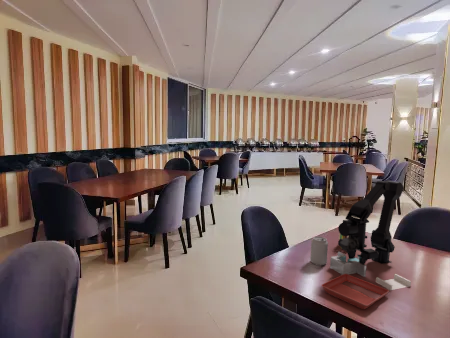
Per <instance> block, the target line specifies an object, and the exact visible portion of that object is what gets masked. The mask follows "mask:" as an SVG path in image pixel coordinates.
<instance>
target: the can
mask: <svg viewBox="0 0 450 338" xmlns="http://www.w3.org/2000/svg"><path fill="white" fill-rule="evenodd" d="M328 246H329V242H328V239H327V237H323V236H313V237H312V239H311V243H310V259H309V260H310V262H311V263H312V264H313V265H316V266H325V265H326V264H327V261H328Z"/></svg>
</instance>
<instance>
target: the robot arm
mask: <svg viewBox="0 0 450 338" xmlns="http://www.w3.org/2000/svg"><path fill="white" fill-rule="evenodd" d="M403 192H404V185H403V183H402V182H401V181H395V180H394V181H393V180H386V181H383V180H378V181H376V182H375V185H374V186H373V187H372V188H371V190H370V191H369V192H368V193H367V194H366V195H365V196H364V197H363V199H361V200H358V201H356V202H355V203H354V204H353V205H352V206H351V207H350V209H349V211H348V213H347V214H346V216H345V219H343V220H342V223H340V224H339V225H338V228H337V230H338V234H339V233H340V234H341V235H342V236H349V237H348V238H344V239H340V240H339V239H338V241H337V246H340V249H341V250H343V251H345V252H346V253H347V256H348V259H350V258H356V255H357V257H358V258H359V262H361V263H363V264H365V265H366V262H367V261H368V260H372V261H374V262H377V263H378V264H382V265H385V264H389V263H391V264H392V261H391V260H390V255H391V253H392V254H393V252H395V249H396V247H395V245H394V244H393V242H392V239H393V238H392V234H391V231H390V228H391V225H392V224H391V223H392V220H393V215H394V211H395V206H396V202H397V200H398V199H400V198H401V196H402V193H403ZM382 196H383V198H384V199H383V204H382V207H381V212H380V216H379V220H378V221H379V222H378V225H377V228H375V229H373V230H372V231H371V235H370V244H371V247H372V248H367V244H366V243H365V242H366V239H368V235H366V231H367V230H366V229H367V224H368V223H370V221H369V220H368V219H369V217H370V216H371V214H372V212H373V210H372V209H373V206H374V205H375V204H376V203H377V202H378V201H379V199H380V198H381V197H382ZM358 251H359V252H360V254H356V253H357V252H358Z"/></svg>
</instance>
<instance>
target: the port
mask: <svg viewBox="0 0 450 338" xmlns="http://www.w3.org/2000/svg"><path fill="white" fill-rule="evenodd" d="M329 269H330V270H334V271H335V272H336V273H339V274H340V275H343V274H348V275H352V274H357V275H359V276H361V277H363V278H366V277H367V276H366V274H367V264H366V263H365V264H363V263H361V262H357V261H349V262H347V255H346V254H345V253H343V252H341V251H337V255H333V256H330V262H329Z"/></svg>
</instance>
